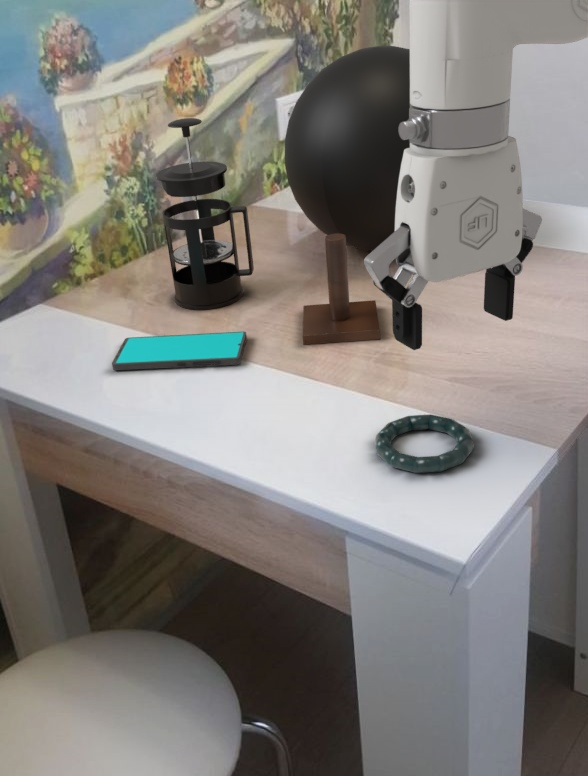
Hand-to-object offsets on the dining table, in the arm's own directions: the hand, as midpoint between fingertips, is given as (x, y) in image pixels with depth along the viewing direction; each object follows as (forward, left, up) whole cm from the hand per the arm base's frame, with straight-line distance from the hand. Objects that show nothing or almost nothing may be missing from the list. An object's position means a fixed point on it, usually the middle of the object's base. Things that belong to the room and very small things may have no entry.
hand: (453, 329), depth 77 cm
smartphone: (+29, -22, -11) cm, 38 cm away
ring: (+3, +2, -10) cm, 11 cm away
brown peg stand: (+10, -27, -11) cm, 31 cm away
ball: (+3, -55, -11) cm, 57 cm away
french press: (+27, -40, -11) cm, 50 cm away
